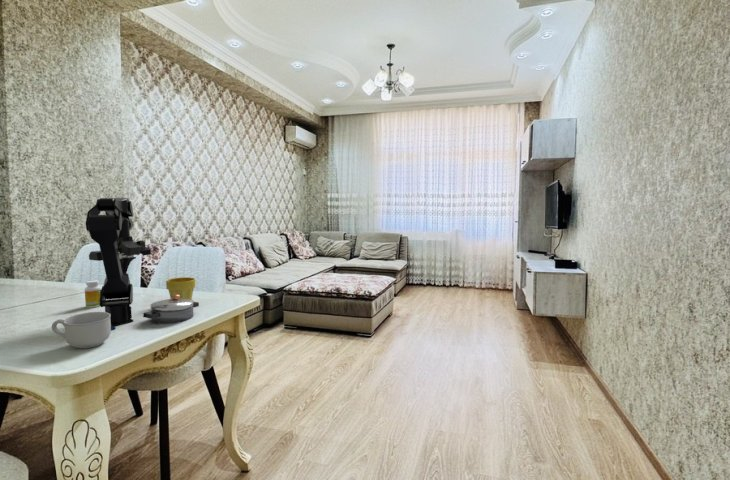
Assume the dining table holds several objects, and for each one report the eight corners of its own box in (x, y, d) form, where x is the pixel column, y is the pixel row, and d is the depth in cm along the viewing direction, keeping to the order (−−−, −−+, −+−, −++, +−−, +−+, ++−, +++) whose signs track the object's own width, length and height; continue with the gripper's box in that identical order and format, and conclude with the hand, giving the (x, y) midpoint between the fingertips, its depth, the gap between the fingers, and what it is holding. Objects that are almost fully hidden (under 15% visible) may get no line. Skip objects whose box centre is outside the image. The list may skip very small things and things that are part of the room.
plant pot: (201, 301, 159) (200, 277, 158) (187, 307, 148) (186, 282, 147) (177, 300, 160) (175, 276, 159) (161, 307, 149) (160, 281, 148)
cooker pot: (160, 327, 124) (160, 315, 124) (135, 322, 130) (135, 310, 130) (207, 314, 140) (206, 302, 139) (183, 309, 146) (182, 298, 146)
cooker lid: (167, 313, 126) (166, 305, 125) (142, 308, 132) (141, 300, 132) (201, 304, 137) (201, 297, 137) (177, 299, 144) (176, 292, 143)
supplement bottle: (100, 307, 150) (99, 282, 149) (84, 308, 148) (82, 283, 147) (104, 303, 155) (102, 279, 154) (88, 305, 153) (86, 280, 152)
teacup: (120, 338, 115) (118, 311, 114) (96, 351, 104) (94, 322, 104) (71, 338, 115) (69, 311, 114) (42, 352, 104) (40, 323, 103)
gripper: (105, 236, 127) (108, 284, 128) (159, 232, 143) (161, 274, 145) (86, 235, 132) (89, 281, 134) (140, 231, 149) (143, 272, 150)
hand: (122, 277), depth 140 cm, fingers closed
